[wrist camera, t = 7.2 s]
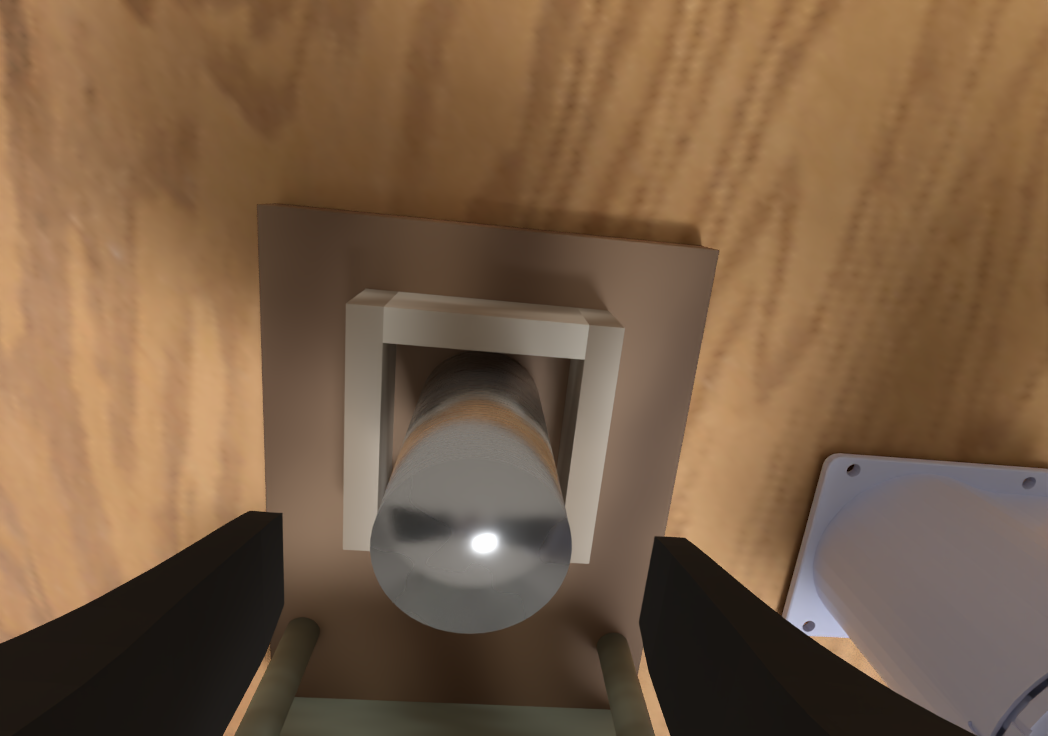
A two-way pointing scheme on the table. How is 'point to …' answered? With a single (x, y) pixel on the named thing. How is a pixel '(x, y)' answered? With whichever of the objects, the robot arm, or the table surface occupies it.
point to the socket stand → (380, 428)
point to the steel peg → (473, 502)
